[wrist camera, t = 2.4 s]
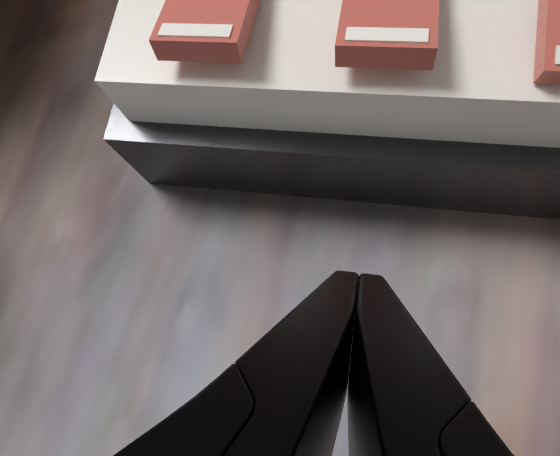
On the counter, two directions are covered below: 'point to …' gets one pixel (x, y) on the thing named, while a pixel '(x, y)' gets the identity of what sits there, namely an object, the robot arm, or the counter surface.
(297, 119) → the power strip
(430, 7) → the rocker middle
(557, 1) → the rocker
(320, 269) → the counter surface
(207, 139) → the stand
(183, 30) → the rocker
